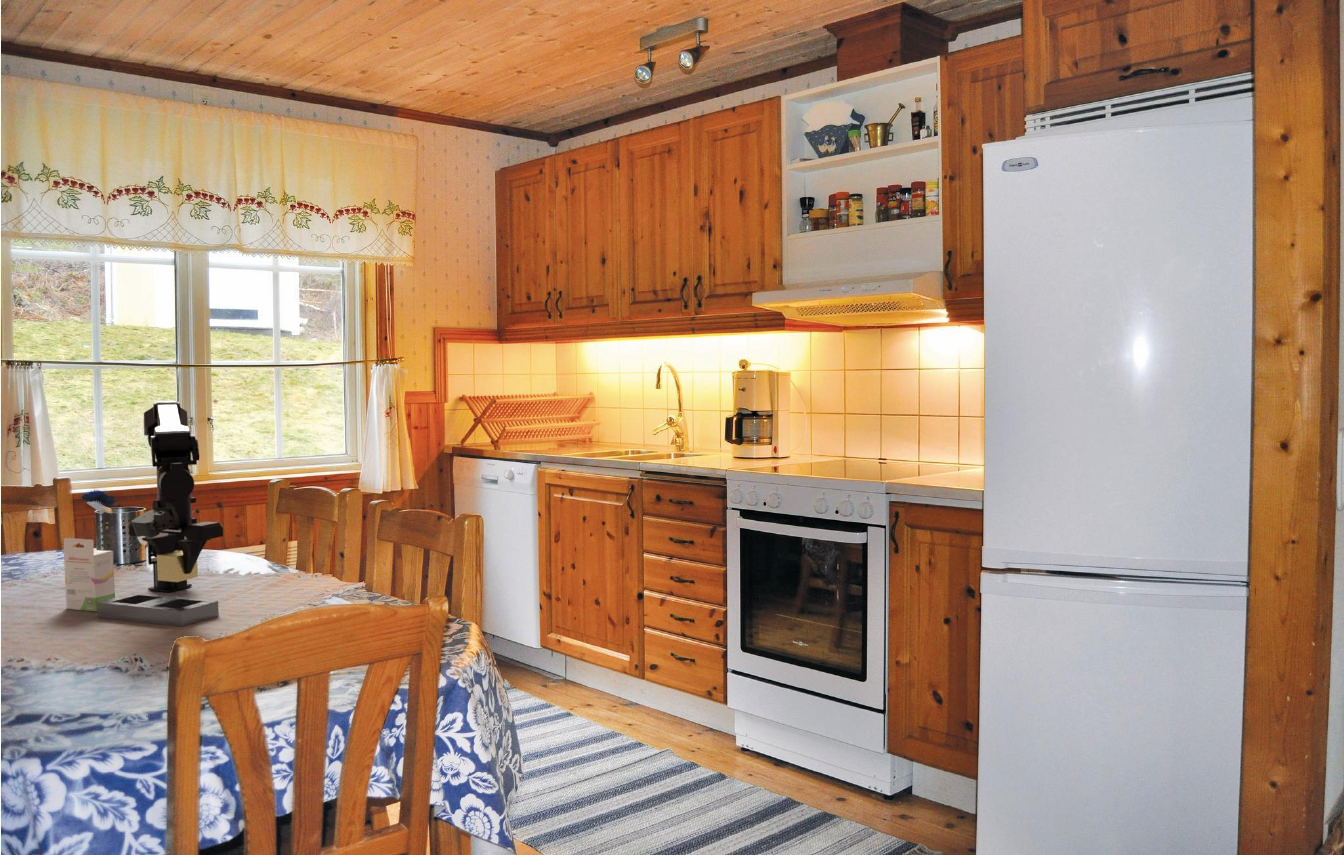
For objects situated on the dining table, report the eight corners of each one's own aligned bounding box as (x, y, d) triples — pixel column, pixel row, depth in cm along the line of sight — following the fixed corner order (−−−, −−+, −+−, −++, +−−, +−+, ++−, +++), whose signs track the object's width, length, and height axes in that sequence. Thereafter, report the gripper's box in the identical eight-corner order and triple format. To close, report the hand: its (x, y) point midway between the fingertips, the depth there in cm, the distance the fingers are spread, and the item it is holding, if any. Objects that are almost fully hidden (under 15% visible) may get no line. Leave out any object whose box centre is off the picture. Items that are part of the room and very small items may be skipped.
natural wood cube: (157, 580, 196) (156, 554, 196) (178, 575, 201) (177, 550, 201) (177, 582, 195) (176, 556, 194) (197, 576, 199) (196, 551, 199)
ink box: (117, 606, 209) (114, 535, 208) (96, 612, 204) (93, 539, 203) (85, 603, 212) (82, 534, 211) (64, 609, 207) (61, 537, 206)
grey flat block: (97, 617, 200) (97, 602, 200) (136, 607, 208) (135, 592, 208) (182, 626, 192) (181, 611, 192) (218, 615, 200) (218, 600, 200)
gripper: (103, 496, 193) (106, 577, 194) (177, 501, 186) (180, 584, 187) (152, 489, 203) (155, 566, 204) (223, 493, 196) (226, 572, 197)
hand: (177, 572), depth 198 cm, fingers closed on natural wood cube, 5 cm apart
